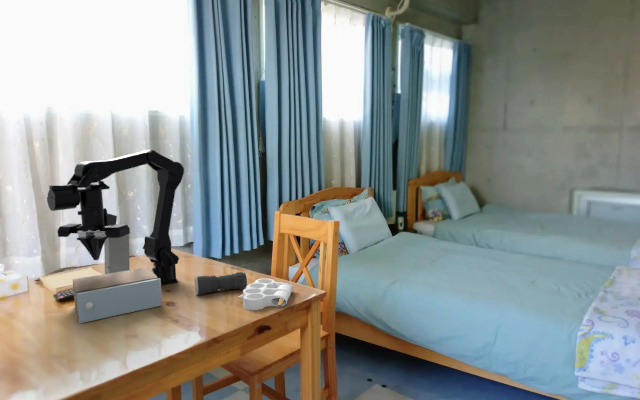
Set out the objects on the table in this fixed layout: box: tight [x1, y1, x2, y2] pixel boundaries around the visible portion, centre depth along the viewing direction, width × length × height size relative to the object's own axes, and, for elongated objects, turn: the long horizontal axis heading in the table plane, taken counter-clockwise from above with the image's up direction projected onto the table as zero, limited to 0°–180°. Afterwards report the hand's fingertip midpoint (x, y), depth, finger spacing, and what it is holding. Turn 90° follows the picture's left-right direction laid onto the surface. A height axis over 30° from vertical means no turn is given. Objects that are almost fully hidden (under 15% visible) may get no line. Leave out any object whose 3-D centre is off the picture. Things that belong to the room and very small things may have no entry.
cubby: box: [72, 266, 158, 321], centre depth 122 cm, size 20×12×8 cm, turn 123°
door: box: [76, 278, 163, 324], centre depth 116 cm, size 20×2×8 cm, turn 124°
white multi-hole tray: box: [238, 278, 294, 311], centre depth 127 cm, size 3×18×15 cm
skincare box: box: [103, 234, 130, 274], centre depth 147 cm, size 8×7×16 cm
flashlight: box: [194, 271, 248, 296], centre depth 134 cm, size 15×5×5 cm, turn 112°
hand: (96, 259), depth 125 cm, fingers closed
